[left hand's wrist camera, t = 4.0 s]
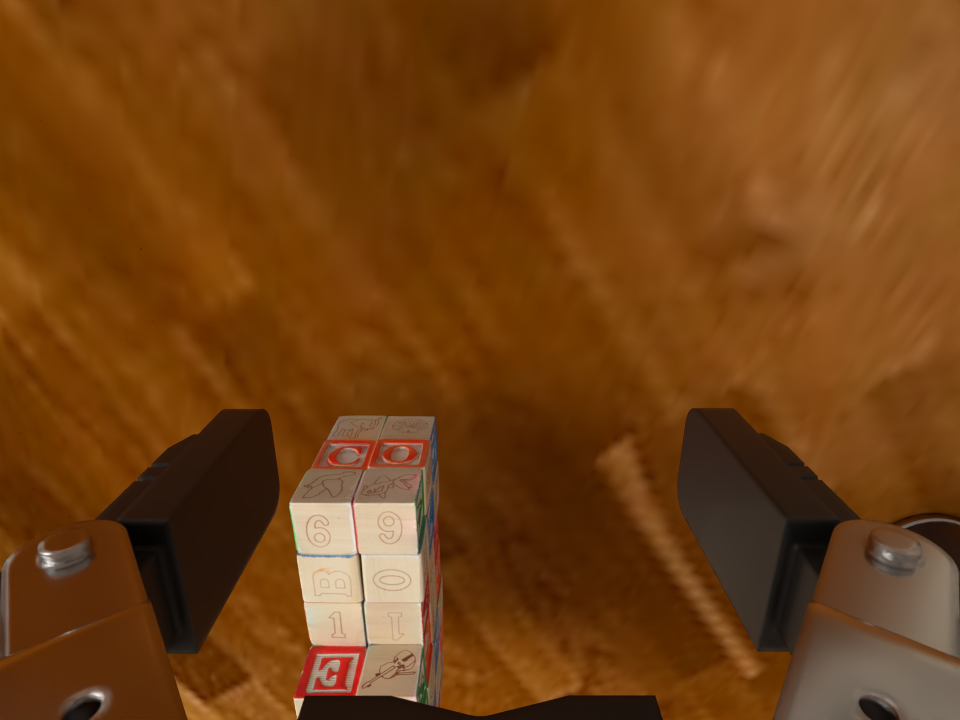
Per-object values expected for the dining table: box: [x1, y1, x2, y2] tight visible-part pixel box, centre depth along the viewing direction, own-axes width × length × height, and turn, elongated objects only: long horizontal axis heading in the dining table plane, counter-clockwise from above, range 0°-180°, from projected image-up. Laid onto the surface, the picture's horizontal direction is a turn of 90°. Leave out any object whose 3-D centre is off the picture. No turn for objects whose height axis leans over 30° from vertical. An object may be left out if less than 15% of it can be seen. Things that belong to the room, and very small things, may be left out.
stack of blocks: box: [289, 416, 444, 718], centre depth 34 cm, size 21×6×12 cm, turn 0°
